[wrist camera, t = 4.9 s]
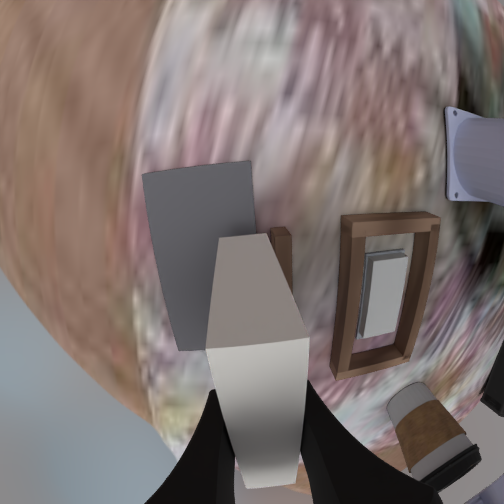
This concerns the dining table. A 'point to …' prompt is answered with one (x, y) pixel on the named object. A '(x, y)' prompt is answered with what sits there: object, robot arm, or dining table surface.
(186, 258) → the mat
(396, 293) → the offcut upper
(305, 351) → the white rectangular block
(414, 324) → the brown wooden frame
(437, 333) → the dining table surface
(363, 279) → the offcut lower
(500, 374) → the magazine
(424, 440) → the coffee cup
